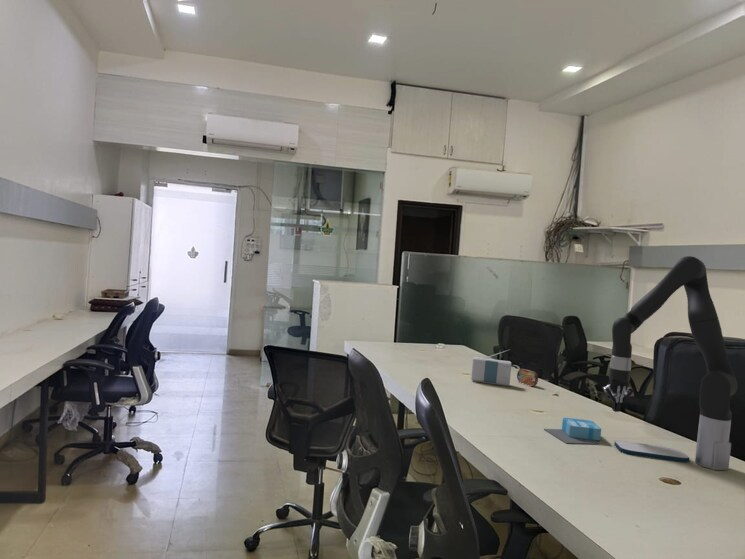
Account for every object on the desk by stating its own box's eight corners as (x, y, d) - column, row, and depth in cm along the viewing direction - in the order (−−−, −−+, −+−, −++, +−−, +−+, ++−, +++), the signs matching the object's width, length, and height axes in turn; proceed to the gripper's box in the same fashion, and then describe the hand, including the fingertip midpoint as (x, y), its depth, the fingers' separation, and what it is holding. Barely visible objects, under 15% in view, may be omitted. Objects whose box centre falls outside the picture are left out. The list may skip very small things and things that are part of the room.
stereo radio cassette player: (470, 381, 291) (474, 346, 291) (472, 379, 299) (475, 344, 299) (509, 387, 285) (512, 351, 285) (509, 384, 293) (513, 349, 293)
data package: (602, 429, 199) (570, 425, 200) (601, 441, 199) (569, 437, 200) (592, 420, 211) (561, 417, 212) (590, 431, 211) (560, 428, 212)
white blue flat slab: (621, 454, 188) (621, 449, 188) (612, 444, 199) (612, 439, 199) (692, 464, 184) (692, 459, 184) (678, 453, 195) (679, 448, 195)
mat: (599, 444, 196) (599, 443, 196) (566, 443, 193) (566, 442, 193) (575, 430, 212) (575, 429, 212) (543, 429, 209) (543, 428, 209)
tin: (516, 381, 304) (517, 367, 304) (520, 381, 305) (521, 367, 305) (534, 387, 290) (535, 372, 290) (538, 387, 291) (539, 372, 291)
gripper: (611, 369, 200) (607, 413, 201) (641, 370, 203) (637, 414, 203) (599, 365, 208) (595, 408, 208) (628, 366, 211) (624, 409, 211)
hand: (616, 411), depth 206 cm, fingers closed
